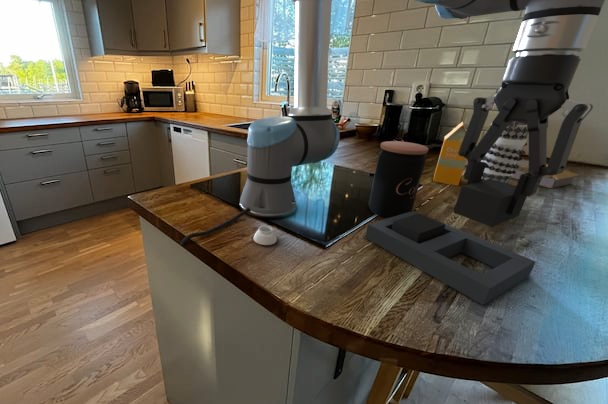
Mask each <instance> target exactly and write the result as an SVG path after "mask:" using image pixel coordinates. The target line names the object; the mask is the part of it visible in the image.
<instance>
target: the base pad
mask: <svg viewBox="0 0 608 404" xmlns="http://www.w3.org/2000/svg"><path fill="white" fill-rule="evenodd" d="M419 213H420V212H418V211H415V210H412V211H411V212H408V213H404V214H401V215H397V216H394V217H391V218H384V219H381V220H377V221H374V222H370V223H367V227H366V231H365V236H364V237H365V239H367V240H368V241H371V242H372V243H373V244H375V245H377V246H379V247H381V248H382V249H384V250H386V251H387V252H390V253H391V254H393V255H395V256H397V257H398V258H400V259H401V260H403V261H405V262H407V263H408V264H410V265H412V266H414V267H415V268H417V269H419V270H420V271H422V272H425V273H426V274H427V275H429V276H432V277H433V278H435V279H436V280H438V281H440V282H442V283H443V284H445V285H447V286H448V287H450V288H452V289H454V290H456V291H457V292H459V293H461V294H462V295H464V296H466V297H468V298H470V299H471V300H473V301H475V302H476V303H478V304H480V305H481V306H484V305H487V304H488V303H490V302H491V301H492V300H495V298H497V297H500V295H502V294H504V293H505V292H507V291H508V290H511V289H512V288H513V287H515V286H517V285H519V284H520V283H522V282H523V281H525V280H526V279H528V278H529V277H530V275H531V273H532V271H533V269H534V267H535V265H536V263H537V261H536V260H533V259H531V258H529V257H526V256H523V255H522V254H519V253H516V252H514V251H513V250H512V251H511V250H509V249H507V248H504V247H502V246H500V245H497V244H495V243H492V242H490V241H488V240H485V239H482V238H480V237H478V236H475V235H473V234H471V233H468V232H466V231H464V230H461V229H459V228H457V227H454V226H451V225H449V224H447V223H445V224H446V225H445V228H444V231H443V234H442V236H439V237H436V238H434V239H431V240H428V241H426V242H423V243H421V244H419V243H417V242H415V241H413V240H411V239H409V238H407V237H405V236H403V235H401V234H399V233H397V232H395V231H393V230H391V229H392V225H393V221H396V220H399V219H402V218H406V217H409V216H412V215H416V214H419ZM428 217H429V218H431V217H430V216H428ZM440 222H441V221H440ZM441 223H443V222H441ZM461 253H462V254H464V255H465V256H466V255H467V256H468V257H470V258H473V259H474V260H476V261H479V262H481V263H482V264H485V265H487V266H490V267H491V268H492V269H489V270H488V271H486V272H485V273H483V274H480V273H478V272H476V271H474V270H473V269H470V268H468V267H466V266H464V265H462V264H461V263H459V262H457V261H454V260H452V259H451V258H452V257H455V256H457V255H459V254H461Z"/></svg>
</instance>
